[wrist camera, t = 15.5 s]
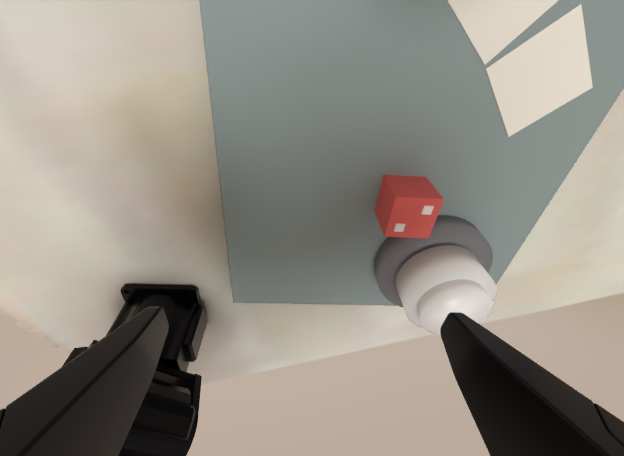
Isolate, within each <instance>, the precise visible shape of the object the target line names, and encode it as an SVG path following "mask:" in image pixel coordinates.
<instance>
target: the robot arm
mask: <svg viewBox="0 0 624 456" xmlns="http://www.w3.org/2000/svg"><path fill="white" fill-rule="evenodd" d="M121 294H122V296H123V298H124V300H125V304H124V306H123V308H122V309H121V311H120V313H119V315H118V316H117V318H116V320H115V321H114V323H113V325H112V326H111V328H110V330H109V331H108V333H107V335H106V336H105V337H104V338H103V339H101V340H100V341H97V340H93V342H92V343H91V344H90V346H89V347H81V348H74V350H73V351H72V352H71V354H70V355H69V357H68V359H67V360H66V362H65V363H64V365H63V366H62V368H60V369H59V370H57V371H56V372H55V373H53V374H52V375H50V376H49V377H47V378H46V379H45V380H43V381H42V382H40V383H39V384H37V385H36V386H35V387H33V388H32V389H30V390H29V391H28V392H26V393H25V394H23V395H22V396H21V397H19V398H18V399H16V400H15V401H13V402H12V403H11V404H9V405H8V406H7V407H6V409H1V410H0V456H186V455H187V453H188V451H189V449H190V446H191V444H192V440H193V438H194V435H195V432H196V428H197V422H198V410H199V399H200V387H201V376H200V375H197V374H191V373H188V372H186V371H187V368H188V364H189V362H194V361H195V360H196V359H197V355H198V352H199V348H200V345H201V341H202V338H203V334H204V331H205V328H206V324H207V320H206V316H205V311H204V307H203V306H202V305H201V303H200V298H199V294H198V290H197V288H196V287H193V286H163V285H124V286H123V287H122V289H121ZM440 333H441V338H442V340H443V343H444V346H445V349H446V352H447V355H448V358H449V361H450V364H451V367H452V370H453V373H454V376H455V378H456V380H457V382H458V385H459V387H460V390H461V392H462V394H463V396H464V398H465V400H466V403H467V405H468V407H469V409H470V411H471V414H472V416H473V418H474V420H475V423H476V425H477V427H478V429H479V431H480V434H481V436H482V438H483V440H484V442H485V444H486V447H487V449H488V451H489V453H490V456H624V422H623V421H621V420H620V419H618V418H617V417H615V416H614V415H612V414H611V413H609V412H608V411H606V410H605V409H604V408H602V407H601V406H599V405H598V404H595V403H594V404H593V402H592V401H591V400H590V399H588V398H587V397H585V396H584V395H582V394H581V393H579V392H578V391H576V390H575V389H573V388H572V387H571V386H569V385H568V384H566V383H565V382H563V381H562V380H560V379H559V378H557V377H556V376H554V375H553V374H551V373H550V372H549V371H547V370H546V369H544V368H543V367H541V366H540V365H538V364H537V363H535V362H534V361H532V360H531V359H529V358H528V357H526V356H525V355H524V354H522V353H521V352H519V351H518V350H516V349H515V348H513V347H512V346H510V345H509V344H507V343H506V342H505V341H503V340H502V339H500V338H499V337H497V336H496V335H494V334H493V333H491V332H490V331H488V330H487V329H485V328H484V327H482V326H481V325H480V324H478V323H477V322H475V321H474V320H472V319H471V318H469V317H468V316H466V315H465V314H463V313H460V312H451V313H449V314H448V315H447V317H446V319H445V320H444V322H443V324H442V326H441V329H440Z"/></svg>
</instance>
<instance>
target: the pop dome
mask: <svg viewBox="0 0 624 456" xmlns="http://www.w3.org/2000/svg"><path fill="white" fill-rule="evenodd" d="M396 288H397V291H398V294H399V296H400V299H401V302H402V305H403V307H404V310H405V313H406V315H407V317H408V319H409V320H410V321H411V322H412V323H413V324H415V325H416V326H419V327H421V328H425V329H426V330H427V331H429V332H431V333H434V334H440V335H441V333H440V329H441V326H442V324H443V322H444V320H445V319H446V317H447V315H448V314H449V313H451V312H460V313H463V314H465V315H466V316H468V317H469V318H471V319H472V320H474V321H475V322H477V323H478V324H480V323H482V322H483V321H484V320H485V319H486V318H487V317H488V316H489V315H490V313H491V311H492V307H493V302H494V300H495V297H496V294H497V287H496V284H495V282H494V281H493V279H492V278H491V277H490V275H489V274H488V273H487V271H486V270H485V269H484V267H483V266H482V264H481V263H480V262H479V260H478V259H477V258H476V256H475V255H474V254H473V253H472V252H471V251H470V250H468V249H466V248H463V247H460V246H454V245H443V246H437V247H433V248H429V249H426V250H424V251H422V252H420V253H418V254H416V255H414V256H413V257H411V258H410V259H409V260H408V261H407V262H406V263H405V264H404V265H403V266H402V267H401V269H400V270H399V272H398V274H397V277H396Z"/></svg>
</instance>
